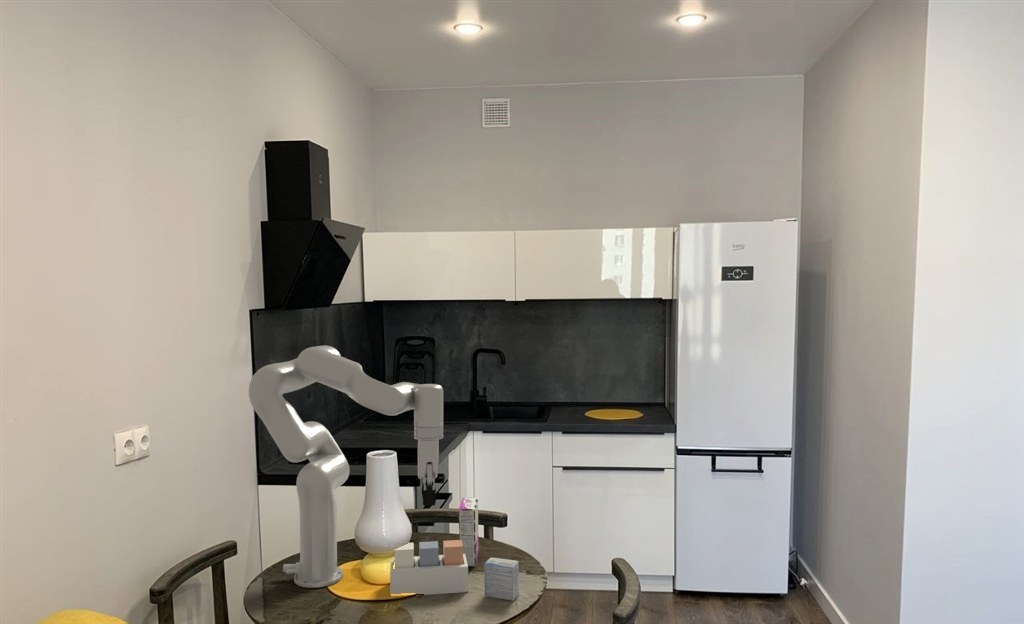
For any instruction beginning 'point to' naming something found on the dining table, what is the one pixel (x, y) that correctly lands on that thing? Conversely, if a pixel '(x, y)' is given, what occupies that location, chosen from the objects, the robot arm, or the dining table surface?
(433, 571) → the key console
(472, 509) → the candy bar box
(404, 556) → the ivory key
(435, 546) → the slate key
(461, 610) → the dining table surface
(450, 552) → the terracotta key
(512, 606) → the dining table surface
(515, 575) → the medicine box
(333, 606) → the dining table surface
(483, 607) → the dining table surface
